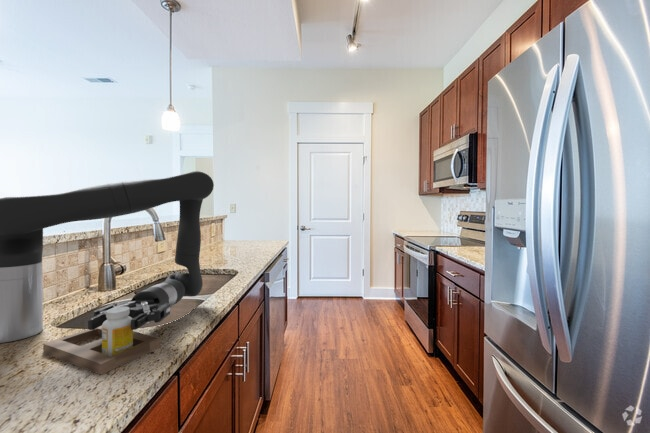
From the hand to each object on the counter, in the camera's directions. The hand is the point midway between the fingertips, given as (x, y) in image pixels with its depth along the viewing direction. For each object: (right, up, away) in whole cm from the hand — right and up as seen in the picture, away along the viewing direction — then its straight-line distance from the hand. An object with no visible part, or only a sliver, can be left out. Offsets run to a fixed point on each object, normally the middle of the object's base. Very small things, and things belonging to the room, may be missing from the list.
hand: (111, 325), depth 60 cm
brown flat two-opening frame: (-5, -7, +4) cm, 9 cm away
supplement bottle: (0, -7, +2) cm, 7 cm away
